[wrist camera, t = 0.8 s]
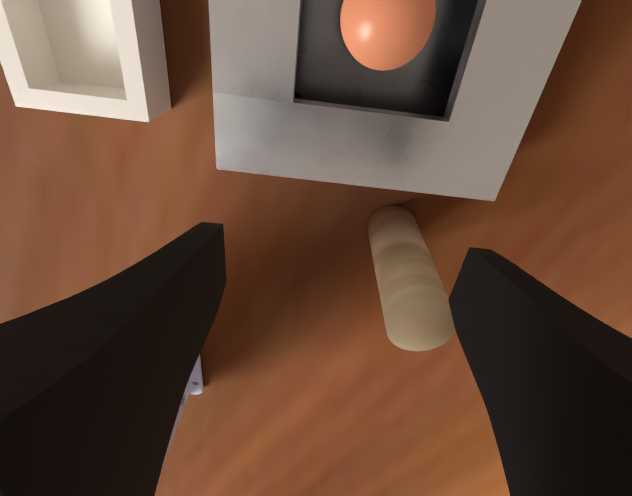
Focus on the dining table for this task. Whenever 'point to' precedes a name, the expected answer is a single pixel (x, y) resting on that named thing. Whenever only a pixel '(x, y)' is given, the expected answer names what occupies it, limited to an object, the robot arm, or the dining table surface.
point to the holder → (86, 57)
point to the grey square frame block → (381, 94)
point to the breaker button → (386, 30)
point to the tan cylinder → (408, 282)
